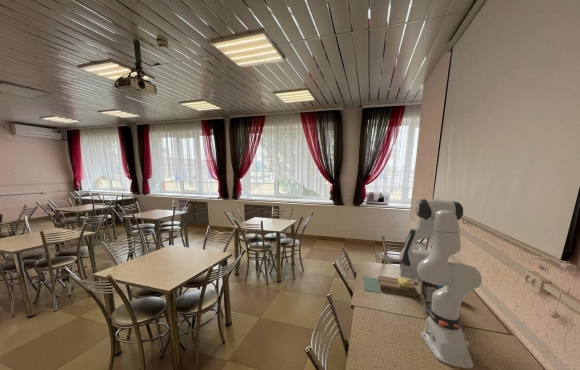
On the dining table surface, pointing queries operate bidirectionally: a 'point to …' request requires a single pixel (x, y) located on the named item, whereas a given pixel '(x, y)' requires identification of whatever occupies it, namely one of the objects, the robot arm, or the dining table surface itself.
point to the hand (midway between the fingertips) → (415, 284)
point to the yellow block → (403, 282)
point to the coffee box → (427, 295)
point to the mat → (371, 284)
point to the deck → (396, 286)
